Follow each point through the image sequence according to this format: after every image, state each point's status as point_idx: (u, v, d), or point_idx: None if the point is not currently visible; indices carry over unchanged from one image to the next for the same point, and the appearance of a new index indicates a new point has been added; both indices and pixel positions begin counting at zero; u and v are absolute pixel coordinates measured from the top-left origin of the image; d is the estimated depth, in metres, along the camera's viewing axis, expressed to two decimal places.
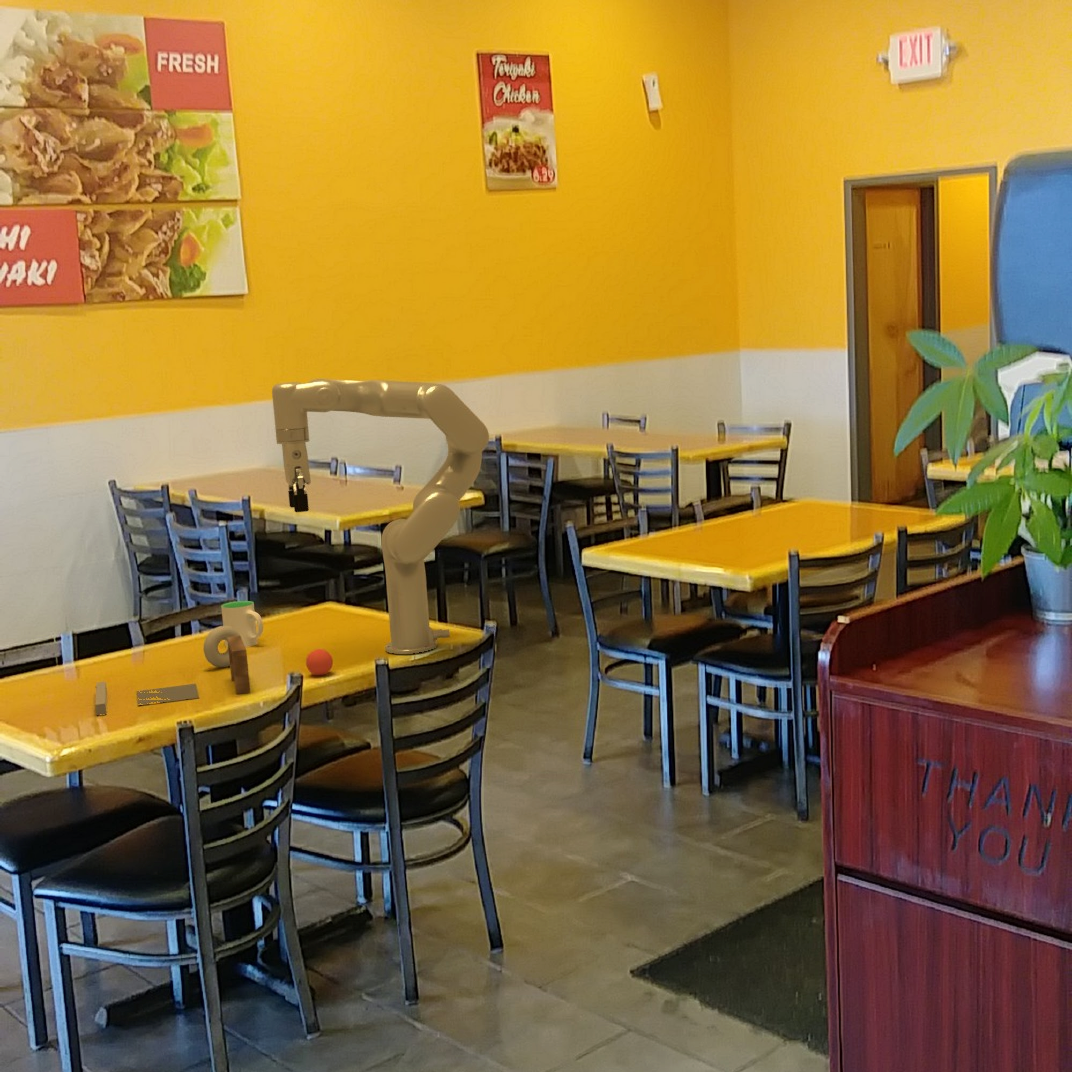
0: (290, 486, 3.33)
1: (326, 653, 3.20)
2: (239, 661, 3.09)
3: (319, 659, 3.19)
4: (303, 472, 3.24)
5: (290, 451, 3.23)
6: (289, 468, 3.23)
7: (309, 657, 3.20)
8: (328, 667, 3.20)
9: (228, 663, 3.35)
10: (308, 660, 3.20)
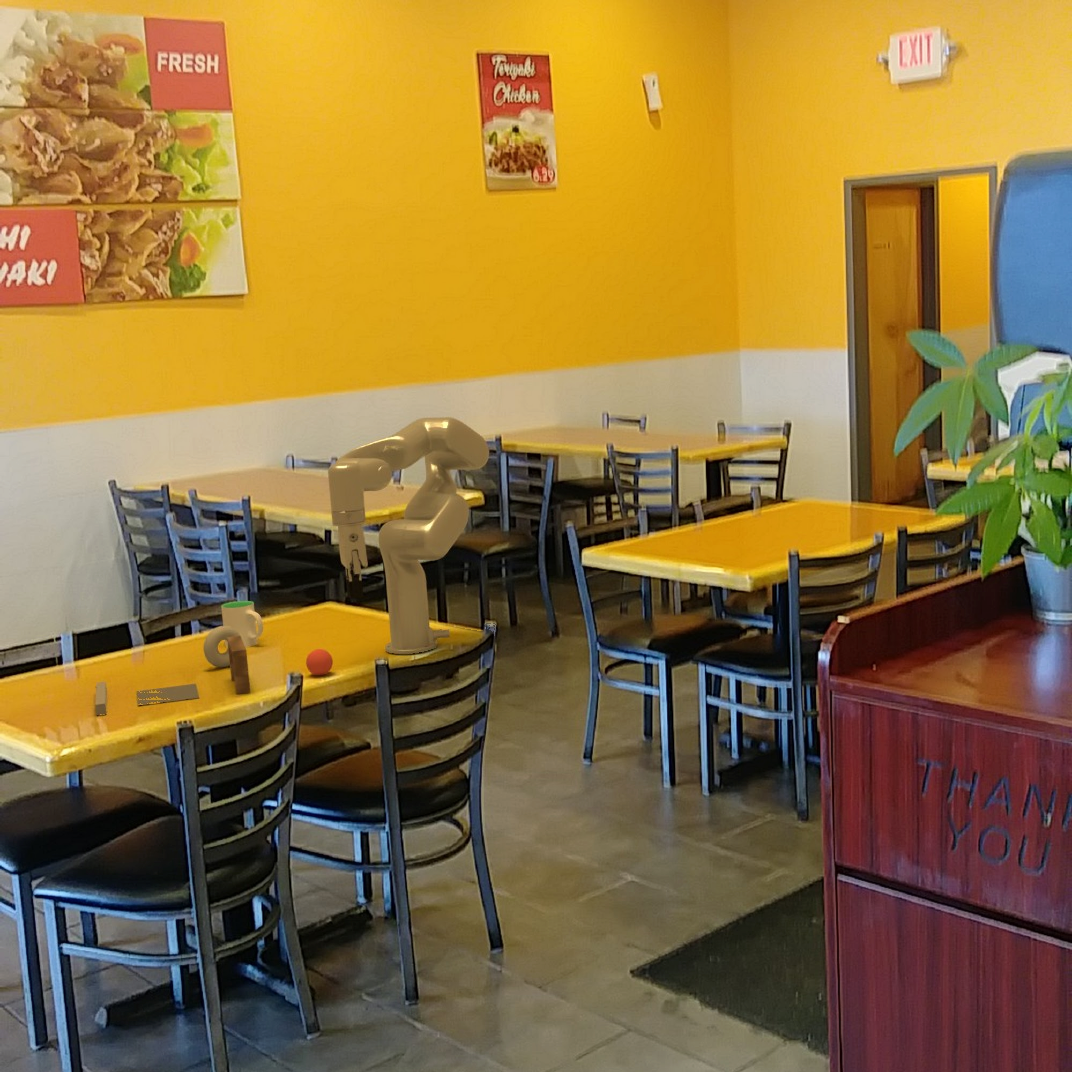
0: (347, 572, 3.22)
1: (326, 653, 3.20)
2: (239, 661, 3.09)
3: (319, 659, 3.19)
4: (361, 556, 3.16)
5: (347, 534, 3.15)
6: (346, 551, 3.15)
7: (309, 657, 3.20)
8: (328, 667, 3.20)
9: (228, 663, 3.35)
10: (308, 660, 3.20)
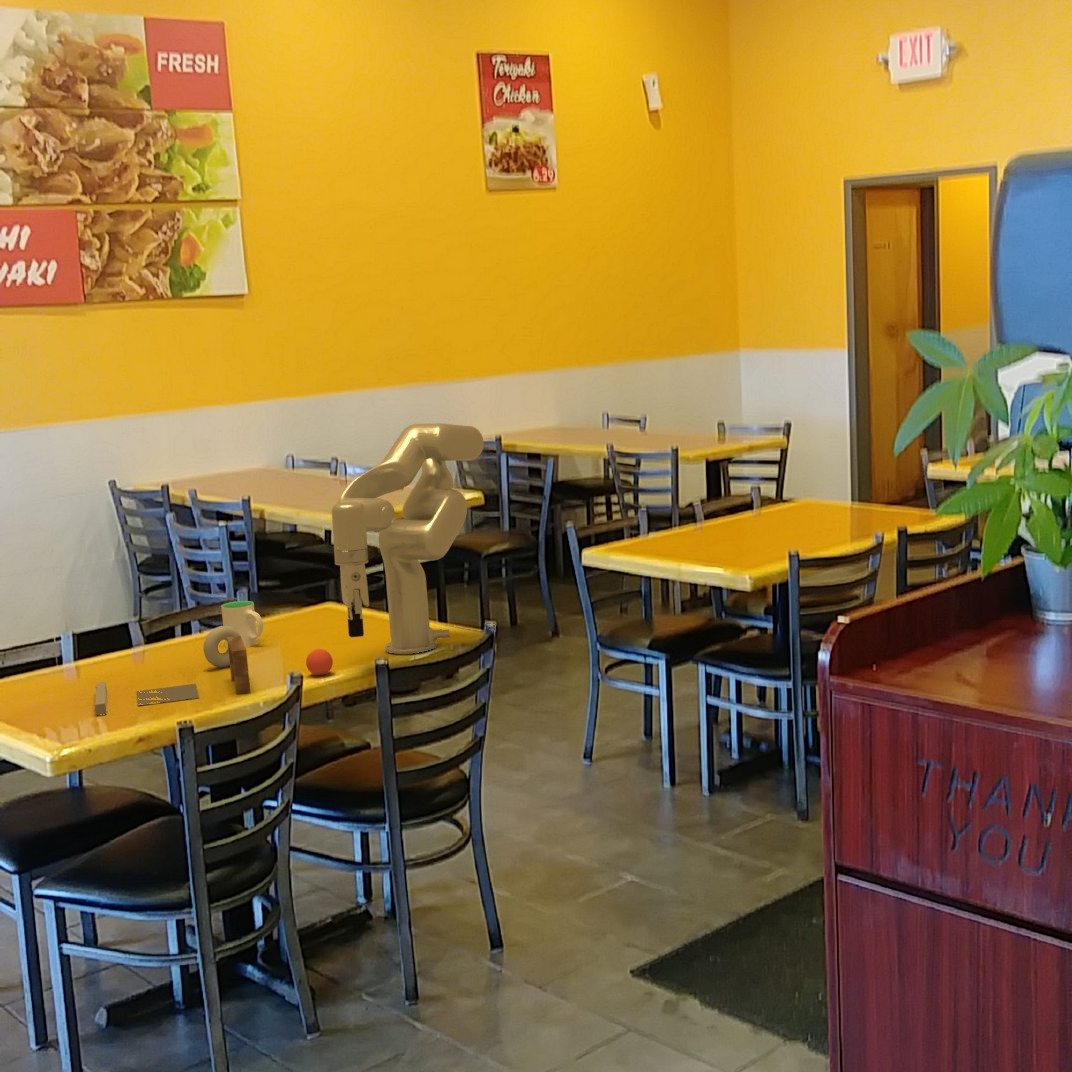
0: None
1: (326, 653, 3.20)
2: (239, 661, 3.09)
3: (319, 659, 3.19)
4: (362, 595, 3.17)
5: (349, 573, 3.16)
6: (348, 590, 3.16)
7: (309, 657, 3.20)
8: (328, 667, 3.20)
9: (228, 663, 3.35)
10: (308, 660, 3.20)
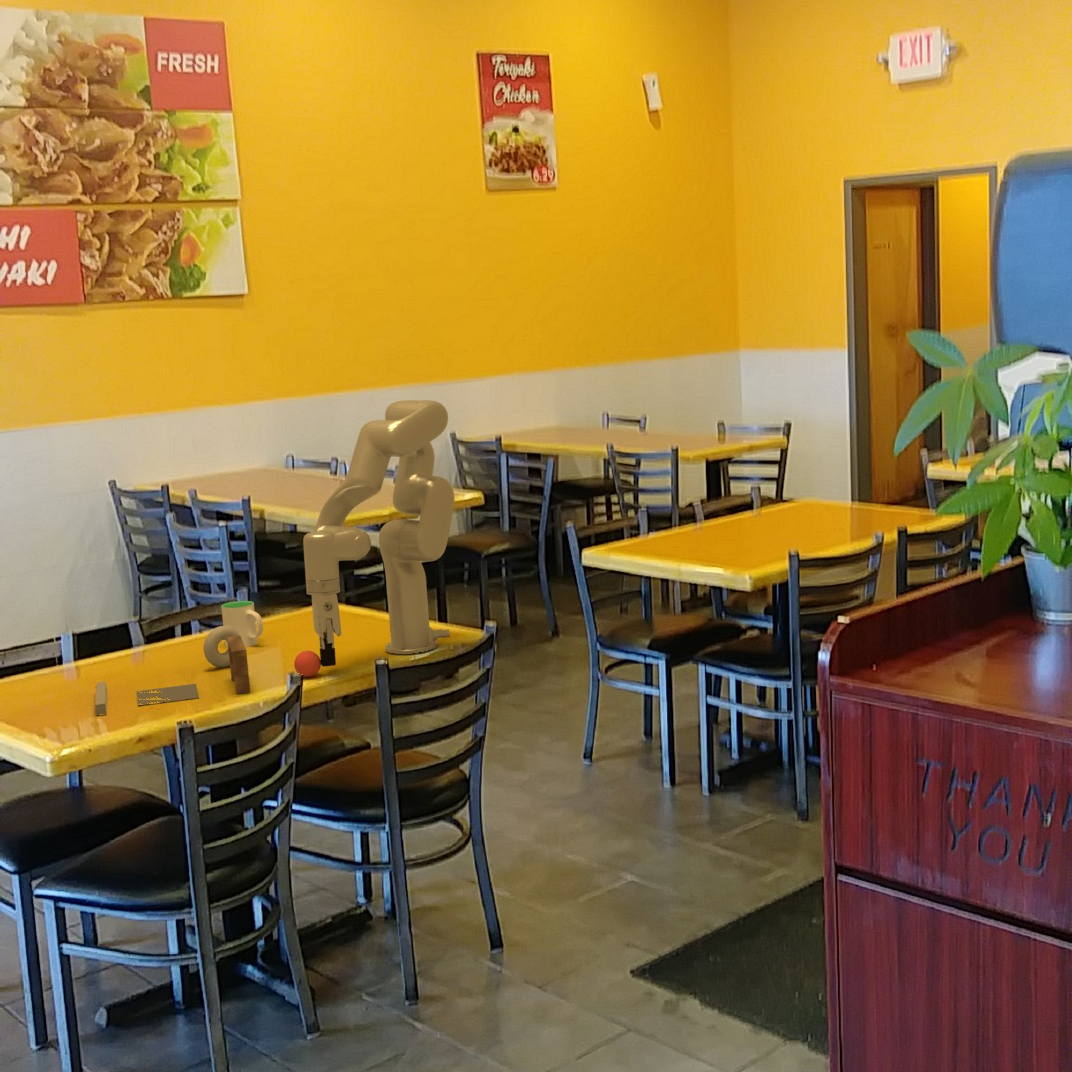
0: None
1: (306, 653, 3.19)
2: (239, 661, 3.09)
3: (304, 663, 3.18)
4: (334, 625, 3.16)
5: (321, 603, 3.15)
6: (320, 620, 3.15)
7: (296, 667, 3.19)
8: (317, 663, 3.19)
9: (228, 663, 3.35)
10: (297, 670, 3.19)
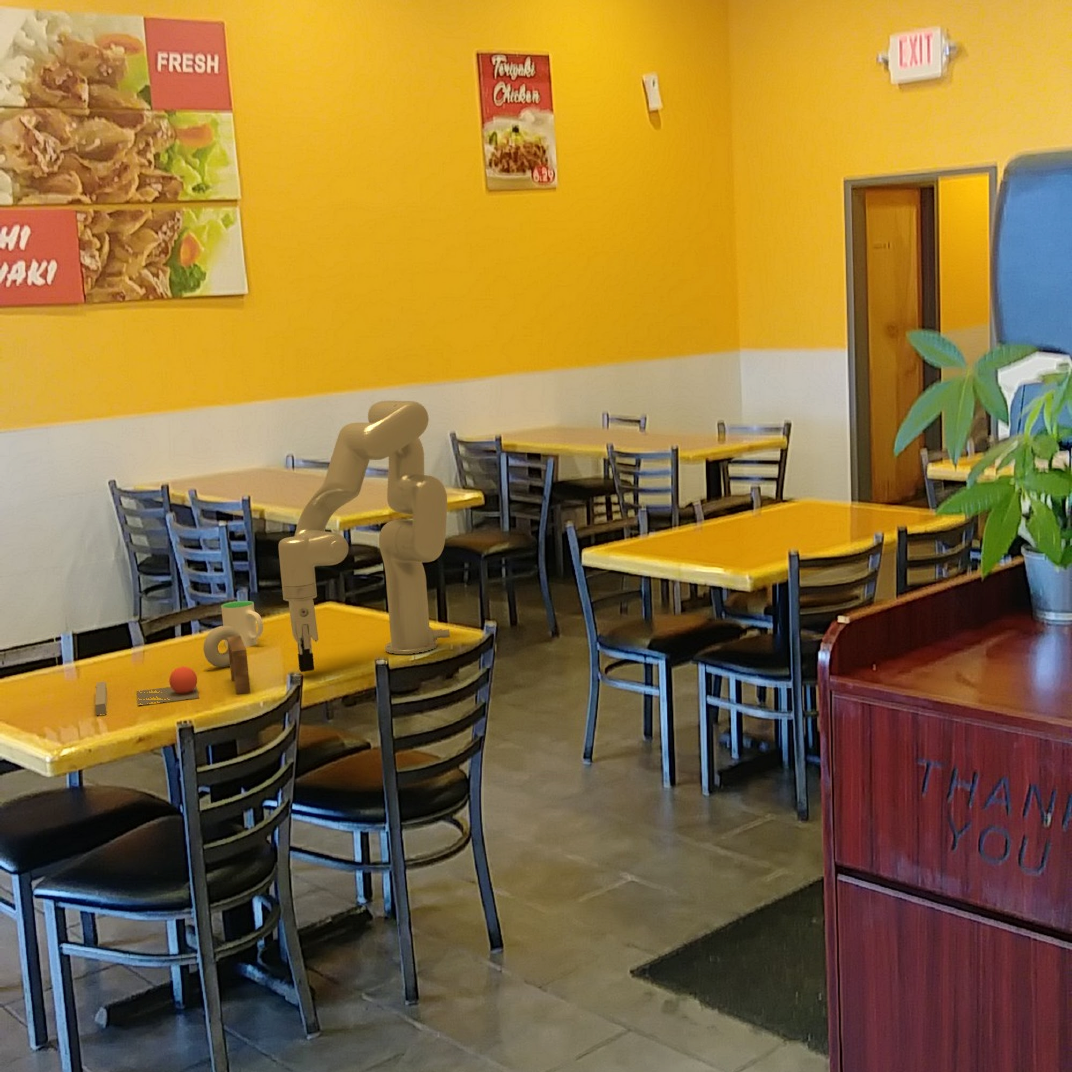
0: (299, 645, 3.21)
1: (182, 693, 3.12)
2: (239, 661, 3.09)
3: (188, 687, 3.11)
4: (311, 630, 3.15)
5: (297, 609, 3.14)
6: (296, 626, 3.14)
7: (196, 681, 3.13)
8: (175, 683, 3.10)
9: (228, 663, 3.35)
10: (196, 678, 3.13)
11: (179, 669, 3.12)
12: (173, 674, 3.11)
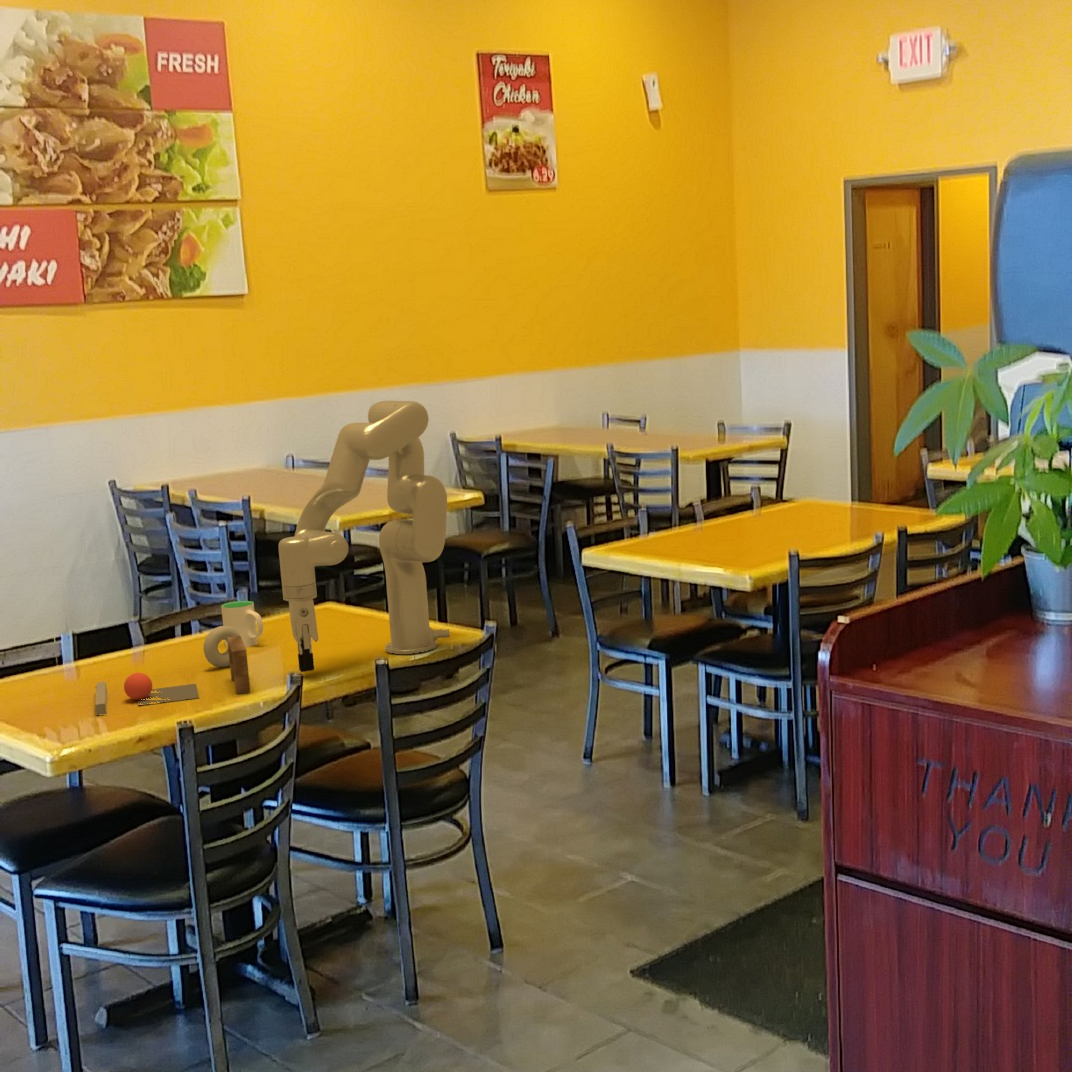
0: (299, 645, 3.21)
1: (138, 675, 3.09)
2: (239, 661, 3.09)
3: (133, 685, 3.07)
4: (311, 630, 3.15)
5: (297, 609, 3.14)
6: (296, 626, 3.14)
7: (125, 688, 3.08)
8: (147, 687, 3.09)
9: (228, 663, 3.35)
10: (125, 691, 3.08)
11: (143, 698, 3.10)
12: (149, 693, 3.10)
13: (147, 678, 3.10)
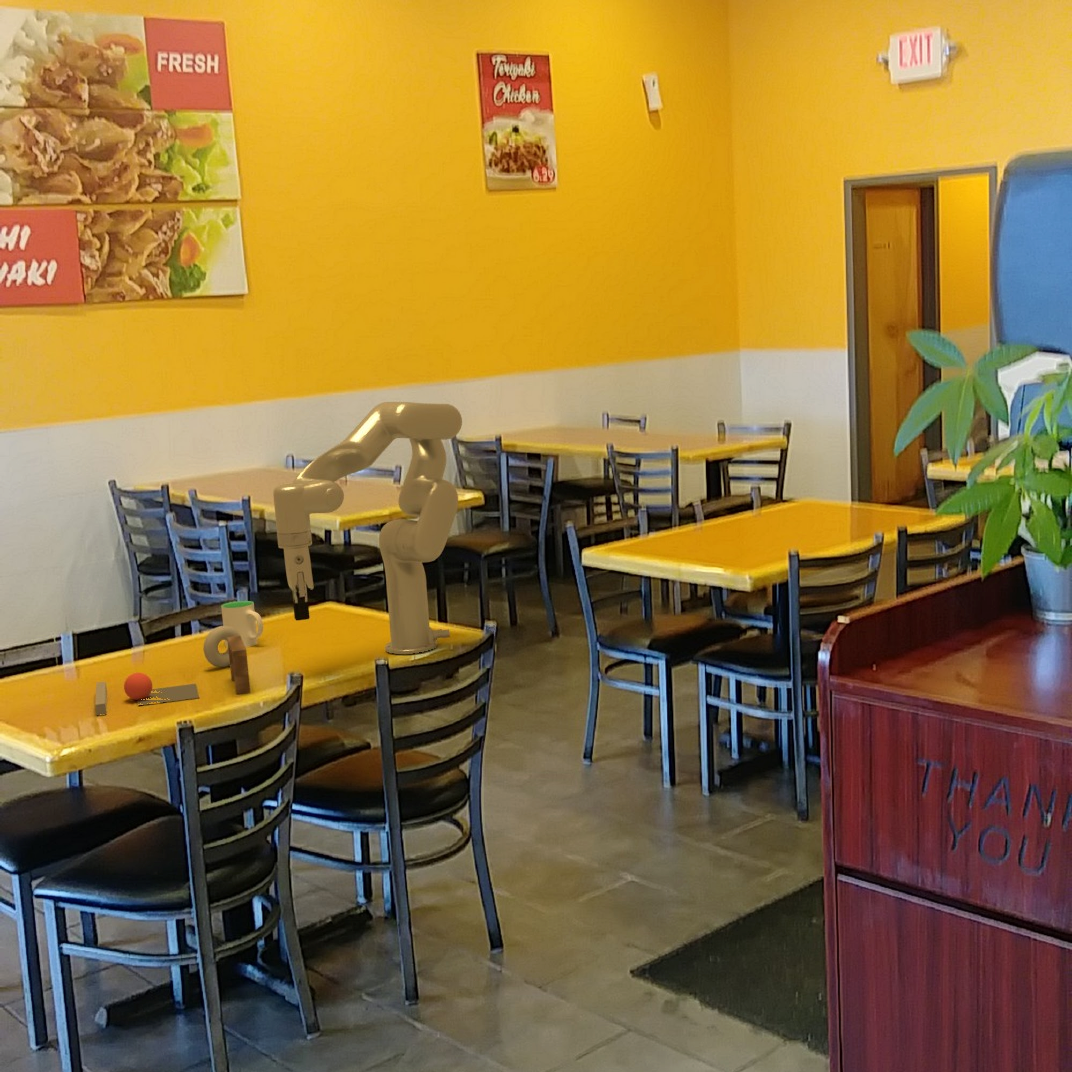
0: None
1: (138, 675, 3.09)
2: (239, 661, 3.09)
3: (133, 685, 3.07)
4: (306, 578, 3.13)
5: (292, 556, 3.12)
6: (291, 574, 3.12)
7: (125, 688, 3.08)
8: (147, 687, 3.09)
9: (228, 663, 3.35)
10: (125, 691, 3.08)
11: (143, 698, 3.10)
12: (149, 693, 3.10)
13: (147, 678, 3.10)
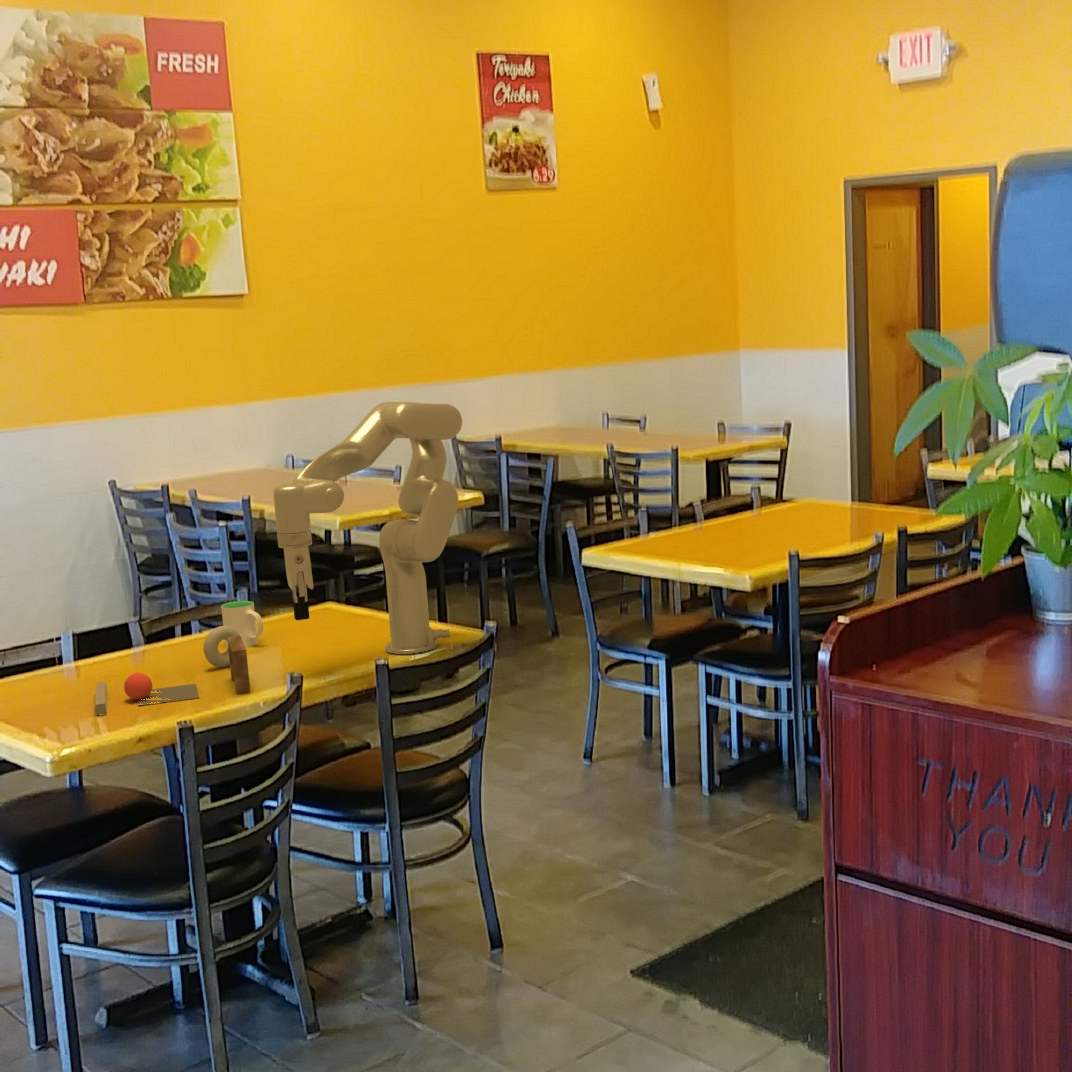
0: None
1: (138, 675, 3.09)
2: (239, 661, 3.09)
3: (133, 685, 3.07)
4: (306, 578, 3.13)
5: (292, 556, 3.12)
6: (291, 573, 3.12)
7: (125, 688, 3.08)
8: (147, 687, 3.09)
9: (228, 663, 3.35)
10: (125, 691, 3.08)
11: (143, 698, 3.10)
12: (149, 693, 3.10)
13: (147, 678, 3.10)
